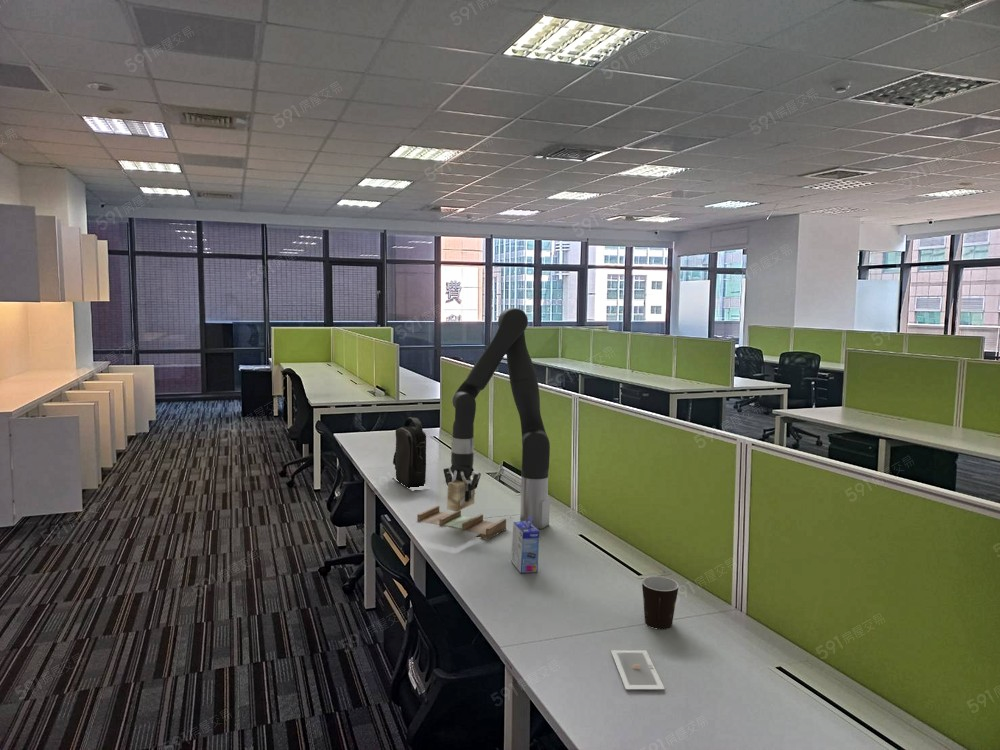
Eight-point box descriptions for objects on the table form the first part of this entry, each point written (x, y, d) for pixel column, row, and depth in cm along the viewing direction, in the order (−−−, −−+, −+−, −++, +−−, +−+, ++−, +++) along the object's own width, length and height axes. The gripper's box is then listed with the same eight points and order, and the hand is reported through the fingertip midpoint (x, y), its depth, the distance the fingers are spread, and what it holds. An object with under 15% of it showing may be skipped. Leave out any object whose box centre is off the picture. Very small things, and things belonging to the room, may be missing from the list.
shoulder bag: (432, 488, 276) (433, 421, 273) (411, 491, 271) (412, 422, 268) (410, 476, 295) (411, 412, 292) (391, 478, 291) (391, 414, 288)
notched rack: (505, 529, 229) (506, 519, 228) (488, 539, 218) (488, 529, 218) (436, 515, 242) (437, 505, 242) (417, 524, 232) (417, 514, 231)
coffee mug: (650, 611, 170) (652, 573, 168) (682, 622, 164) (684, 582, 163) (627, 628, 161) (629, 587, 159) (661, 640, 155) (663, 598, 154)
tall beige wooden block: (474, 503, 233) (475, 478, 232) (457, 511, 224) (458, 485, 223) (464, 501, 235) (464, 476, 234) (446, 509, 226) (447, 483, 225)
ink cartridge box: (539, 572, 193) (540, 523, 191) (520, 574, 191) (521, 524, 190) (528, 559, 202) (529, 512, 201) (510, 561, 201) (511, 513, 199)
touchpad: (625, 694, 134) (626, 684, 134) (610, 655, 149) (611, 645, 149) (664, 694, 134) (665, 683, 134) (645, 655, 149) (646, 645, 149)
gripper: (486, 451, 227) (484, 500, 229) (450, 445, 234) (449, 493, 236) (475, 455, 221) (473, 506, 223) (438, 449, 228) (437, 499, 229)
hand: (461, 499), depth 229 cm, fingers closed on tall beige wooden block, 4 cm apart
